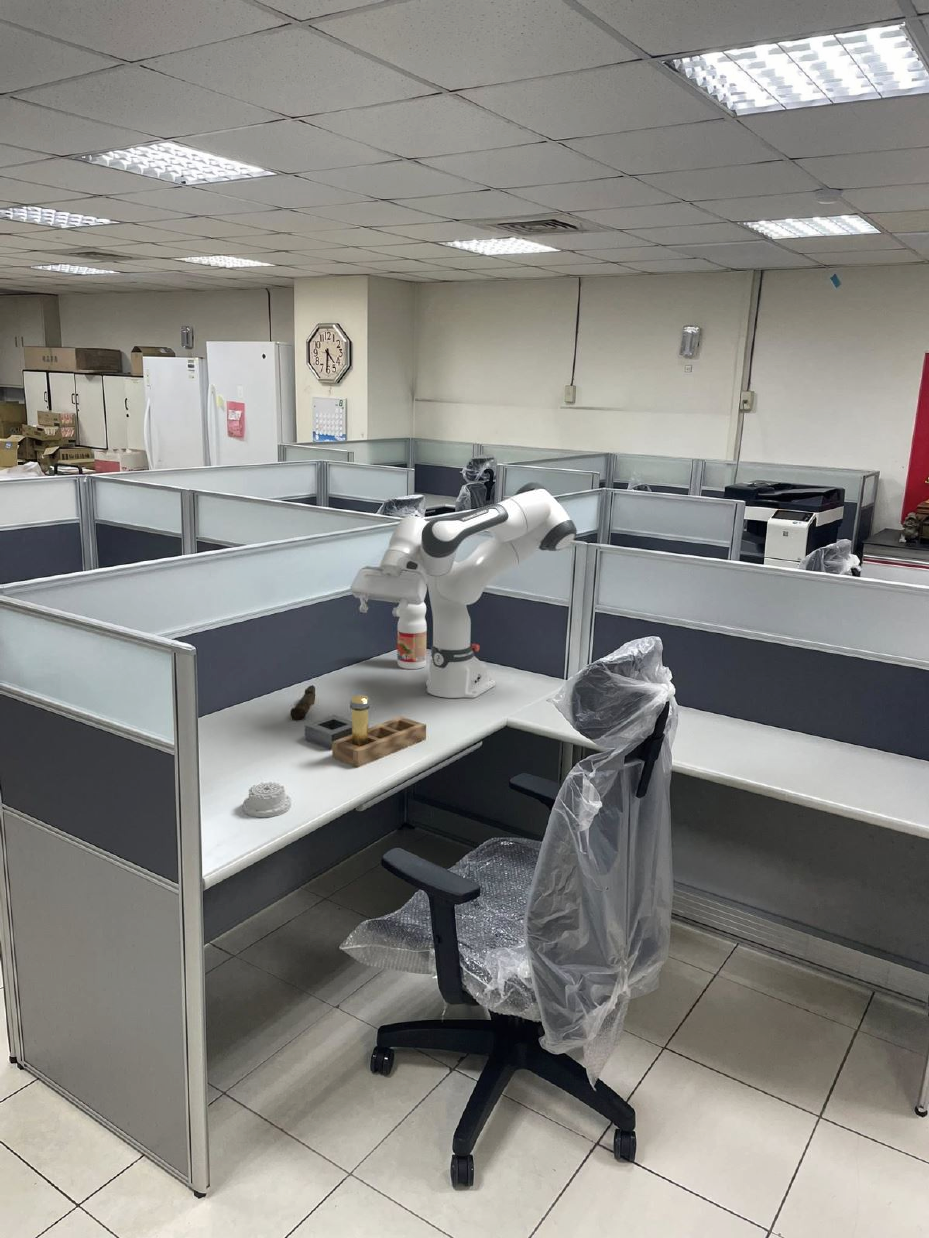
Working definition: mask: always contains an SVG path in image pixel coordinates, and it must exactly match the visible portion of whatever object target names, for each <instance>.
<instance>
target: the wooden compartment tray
mask: <svg viewBox="0 0 929 1238" xmlns="http://www.w3.org/2000/svg"><path fill="white" fill-rule="evenodd" d="M425 739H426V740H427V724H425V723H422V722H419V721H416V720H412V719H410V718H407V717H403V716H397V717H395V718H392V719H389V720H387V721H385V722H381V723H379V724H376V725H374V726H371V727H368V744H366V745H364V746H361V747H358V746H356V745H353V744H352V735H349V736H346V737H344V738H341V739H338V740H336V741H333V742H332V750H331V751H332V753H331V755H332V756H331V757H332V758H333V759H336V760H338V761H341V762H344V763H346V764H349V765H351V766H354V767H357V768H360V767H362V766H365V765H368V764H370V763H373V762H374V760H375V761H378V760H380V759H382V758H384V756H385V757H387V756H389V755H392V754H394V753H396V752H399V751H401V749H402V750H404V749H407V748H409V747H411V746H413V744H414V745H416V744H419V743H420V741H421V742H423V741H425ZM422 740H423V741H422ZM418 742H419V743H418ZM415 743H416V744H415ZM408 746H409V747H408ZM398 750H399V751H398ZM391 753H392V754H391ZM379 758H380V759H379ZM372 761H373V762H372ZM367 763H368V764H367Z"/></svg>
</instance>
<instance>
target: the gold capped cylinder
mask: <svg viewBox="0 0 929 1238" xmlns="http://www.w3.org/2000/svg"><path fill="white" fill-rule="evenodd" d="M349 708H350V709H351V710H350V711H351V721H352V744H353V745H356V746H358V747H361V746H364V745H366V744H368V728H369V709H370V699H369V697H368V695H361V694H360V695H359V694H358V695H353V696H351V698H350V700H349Z"/></svg>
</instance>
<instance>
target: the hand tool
mask: <svg viewBox="0 0 929 1238" xmlns="http://www.w3.org/2000/svg"><path fill="white" fill-rule="evenodd" d="M315 687H316V686H315V685H308V686H307V688H305V689H304V694H303V696H301V699H300V700H299V701H298V702H297V704H295V706H294V707H293V708H292V707H291V709H290V714H289V715H290V719H291V720H292V721H298V720H299V721H300V720H301V721H303V720H305V718H306V714H307V713H308V712H309V710H310V708H311V706H313V705H315V701H316V688H315ZM299 721H298V722H299Z"/></svg>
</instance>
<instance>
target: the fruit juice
mask: <svg viewBox="0 0 929 1238" xmlns="http://www.w3.org/2000/svg"><path fill="white" fill-rule="evenodd" d="M400 604H401V603H399V604H398V606H399V605H400ZM426 613H427V605H426V603H425V600H424V601H423V603H421V604H420V605H414V604H408V607H407V608H405V609H404V610H403V611H402V612H401V614H400V616H399V617H398V621H397V646H396V647H397V657H396V658H397V661H396V663H397V665H398V667H399V668H401V669H406V670H419V669H423V668H424V667H426V664H427V635H428V634H427V631H428V630H427V627H428V626H427V621H426Z"/></svg>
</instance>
